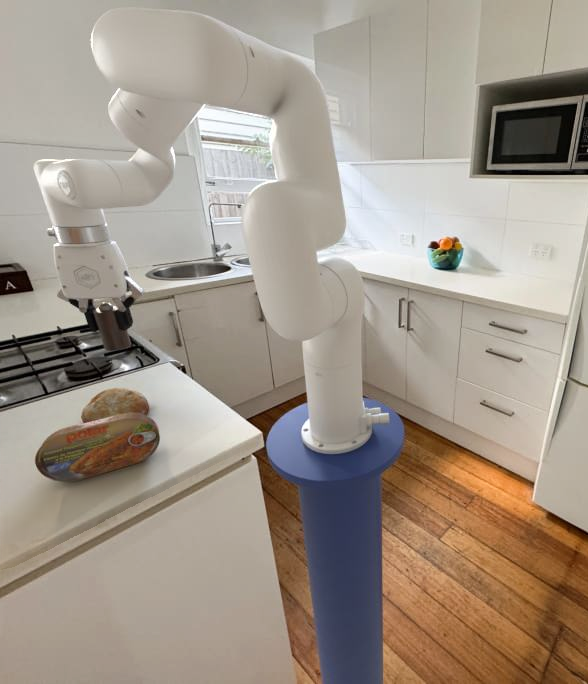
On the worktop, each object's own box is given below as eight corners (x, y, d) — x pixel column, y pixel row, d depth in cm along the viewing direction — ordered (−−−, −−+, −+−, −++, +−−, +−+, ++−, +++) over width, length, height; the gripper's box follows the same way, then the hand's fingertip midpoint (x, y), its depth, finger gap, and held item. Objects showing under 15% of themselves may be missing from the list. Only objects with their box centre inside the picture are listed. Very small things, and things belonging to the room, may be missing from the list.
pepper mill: (135, 341, 80) (122, 299, 76) (125, 350, 76) (111, 306, 72) (111, 342, 79) (97, 299, 75) (100, 351, 75) (85, 306, 71)
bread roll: (100, 455, 68) (96, 428, 64) (70, 417, 71) (65, 389, 66) (158, 427, 76) (159, 402, 72) (129, 394, 79) (128, 368, 74)
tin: (46, 490, 56) (24, 444, 53) (50, 477, 59) (30, 432, 55) (165, 455, 64) (152, 413, 60) (164, 445, 66) (152, 404, 63)
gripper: (13, 238, 64) (51, 338, 71) (126, 238, 67) (152, 334, 74) (43, 232, 70) (75, 324, 78) (144, 232, 74) (166, 320, 81)
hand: (112, 328), depth 76 cm, fingers closed on pepper mill, 4 cm apart
